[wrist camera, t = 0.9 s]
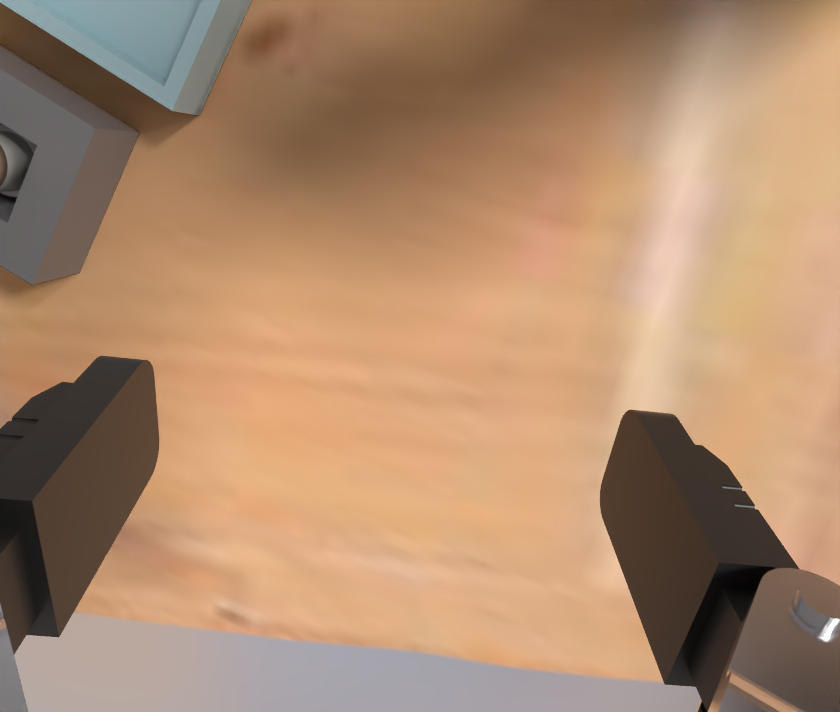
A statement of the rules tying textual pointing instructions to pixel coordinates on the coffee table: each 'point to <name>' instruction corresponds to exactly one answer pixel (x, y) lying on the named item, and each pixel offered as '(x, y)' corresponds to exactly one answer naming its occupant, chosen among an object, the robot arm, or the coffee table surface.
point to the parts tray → (147, 41)
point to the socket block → (56, 172)
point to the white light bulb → (13, 160)
